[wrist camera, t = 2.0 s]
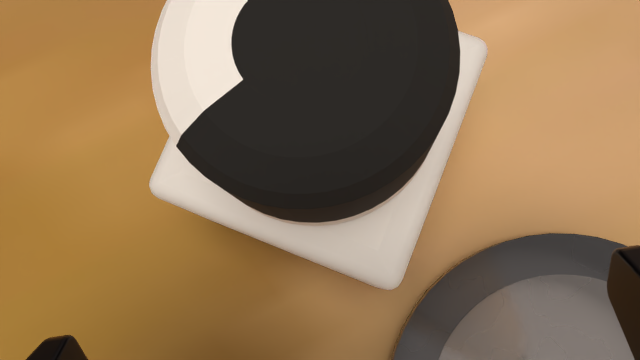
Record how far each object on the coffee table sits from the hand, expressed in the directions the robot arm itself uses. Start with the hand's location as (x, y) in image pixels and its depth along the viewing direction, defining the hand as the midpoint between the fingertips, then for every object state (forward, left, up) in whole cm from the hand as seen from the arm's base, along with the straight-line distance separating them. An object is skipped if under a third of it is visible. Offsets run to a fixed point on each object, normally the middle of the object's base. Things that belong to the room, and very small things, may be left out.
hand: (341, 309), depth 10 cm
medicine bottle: (+3, -4, -12) cm, 13 cm away
